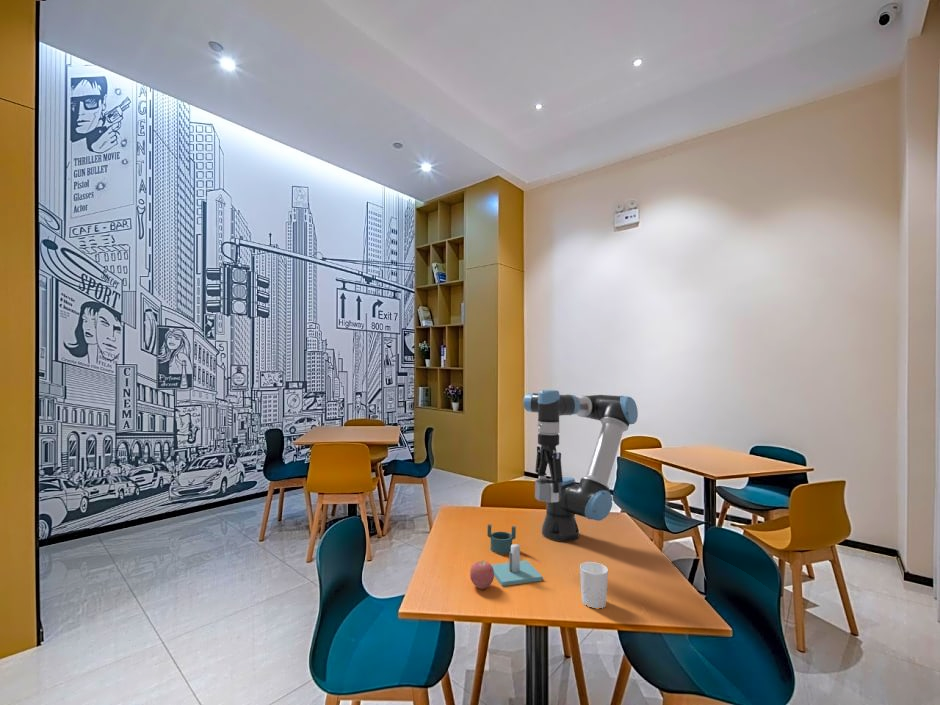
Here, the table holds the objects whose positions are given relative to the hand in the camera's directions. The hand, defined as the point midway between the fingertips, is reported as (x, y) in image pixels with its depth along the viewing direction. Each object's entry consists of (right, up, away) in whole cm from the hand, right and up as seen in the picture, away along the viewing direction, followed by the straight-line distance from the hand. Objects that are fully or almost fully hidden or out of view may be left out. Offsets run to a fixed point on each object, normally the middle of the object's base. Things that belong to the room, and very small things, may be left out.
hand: (548, 497), depth 145 cm
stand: (-13, -22, -9) cm, 27 cm away
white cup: (+8, -22, -26) cm, 35 cm away
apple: (-24, -22, -18) cm, 37 cm away
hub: (0, 0, 0) cm, 0 cm away
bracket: (-16, -23, +11) cm, 30 cm away
